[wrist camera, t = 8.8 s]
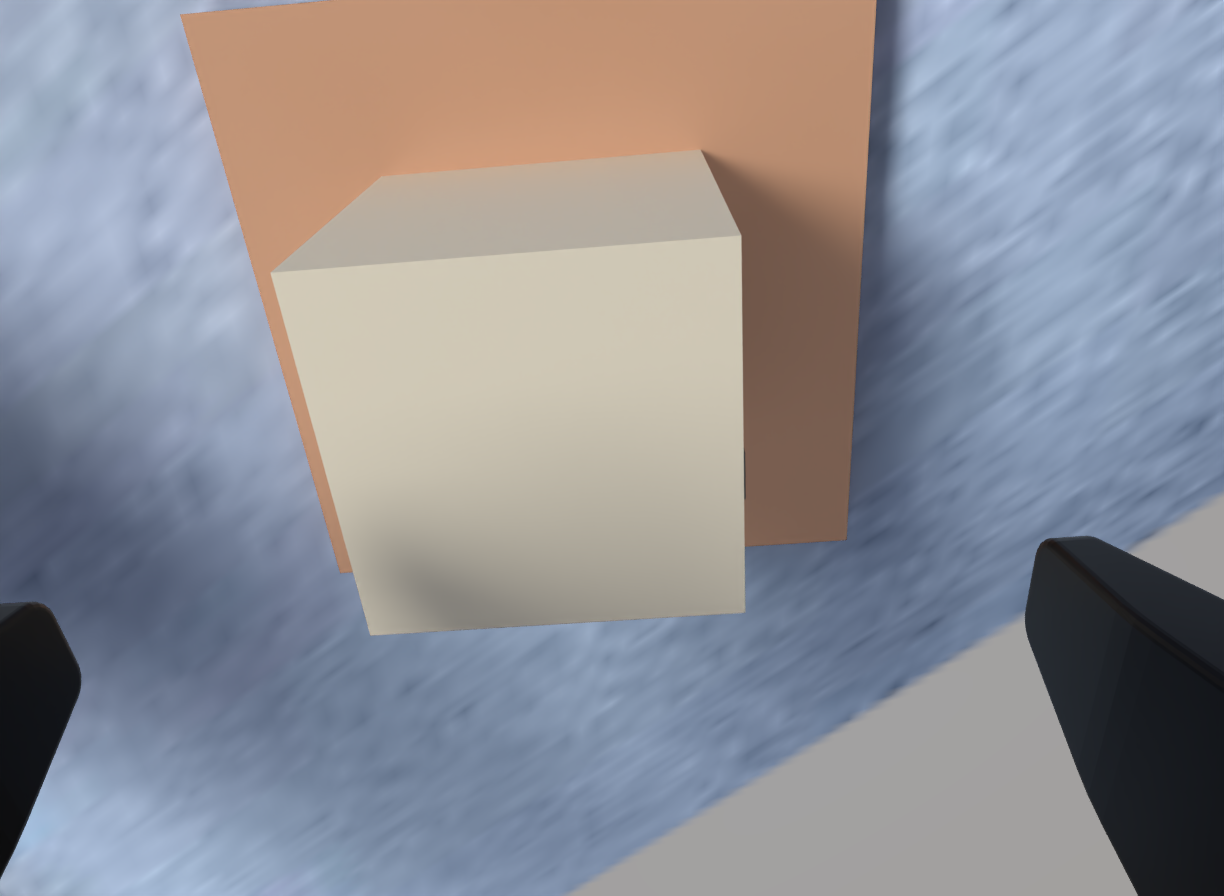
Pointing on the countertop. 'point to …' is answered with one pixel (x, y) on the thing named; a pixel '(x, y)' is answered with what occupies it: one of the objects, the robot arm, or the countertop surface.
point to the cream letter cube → (530, 392)
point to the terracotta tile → (575, 130)
